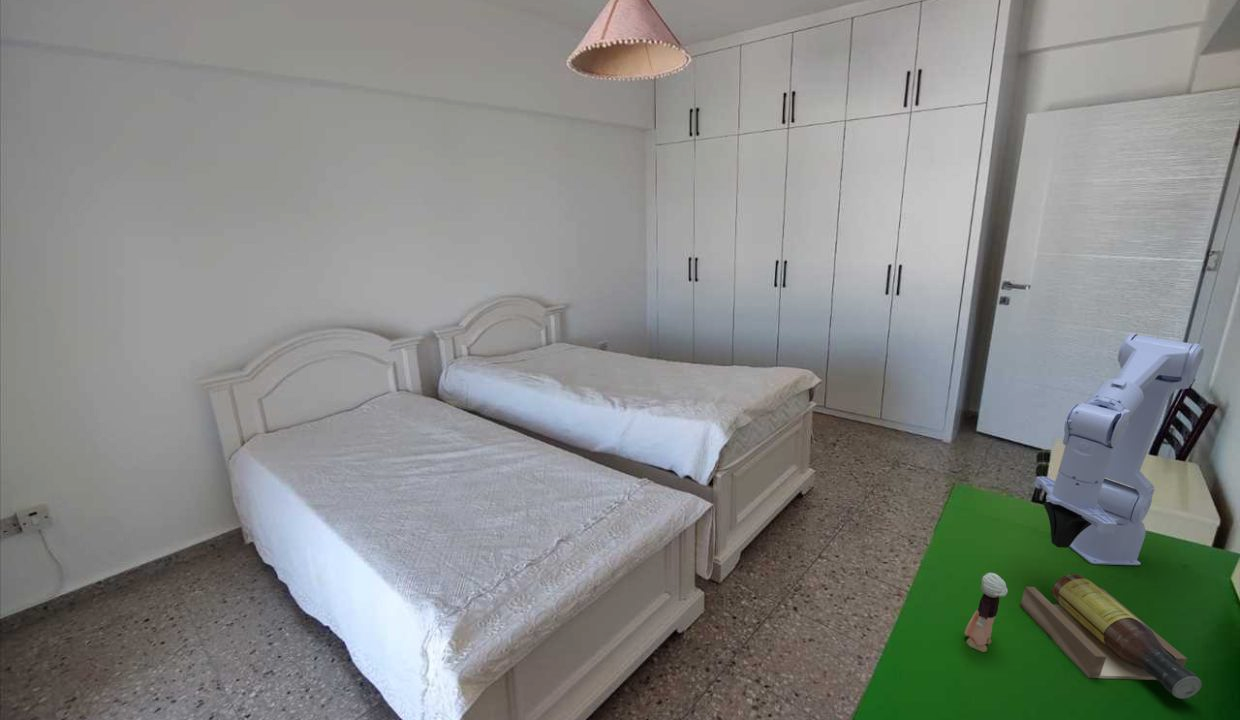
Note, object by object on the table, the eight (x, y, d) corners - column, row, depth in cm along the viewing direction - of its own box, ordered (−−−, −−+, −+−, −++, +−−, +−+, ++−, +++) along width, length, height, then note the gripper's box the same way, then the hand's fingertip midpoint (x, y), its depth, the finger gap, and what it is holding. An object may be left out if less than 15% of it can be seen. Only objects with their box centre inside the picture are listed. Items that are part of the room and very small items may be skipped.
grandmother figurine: (967, 623, 88) (983, 558, 85) (994, 634, 86) (1012, 568, 82) (959, 652, 83) (976, 584, 79) (989, 665, 80) (1007, 595, 77)
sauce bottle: (1079, 600, 93) (1199, 708, 74) (1044, 600, 93) (1156, 708, 74) (1091, 569, 91) (1218, 673, 72) (1056, 569, 91) (1174, 673, 72)
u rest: (1096, 607, 92) (1102, 588, 91) (1178, 680, 78) (1187, 658, 77) (1020, 605, 92) (1025, 586, 91) (1088, 677, 78) (1096, 656, 77)
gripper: (1025, 454, 95) (1008, 520, 99) (1092, 497, 81) (1069, 572, 85) (1065, 454, 95) (1046, 520, 99) (1139, 498, 81) (1114, 573, 85)
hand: (1060, 544), depth 92 cm, fingers closed
